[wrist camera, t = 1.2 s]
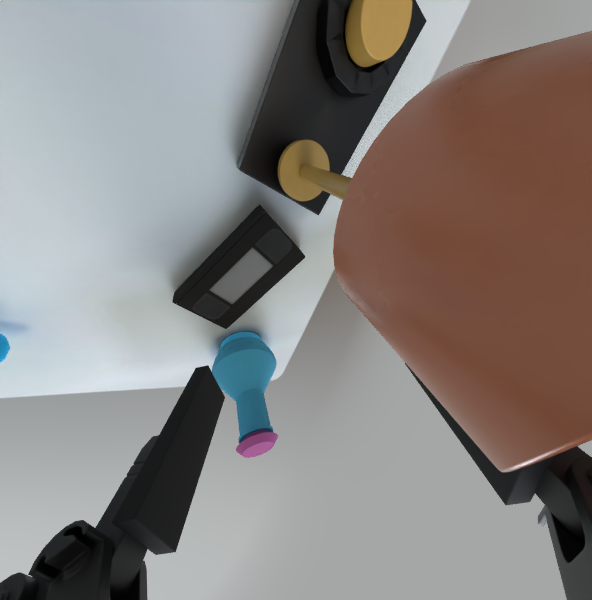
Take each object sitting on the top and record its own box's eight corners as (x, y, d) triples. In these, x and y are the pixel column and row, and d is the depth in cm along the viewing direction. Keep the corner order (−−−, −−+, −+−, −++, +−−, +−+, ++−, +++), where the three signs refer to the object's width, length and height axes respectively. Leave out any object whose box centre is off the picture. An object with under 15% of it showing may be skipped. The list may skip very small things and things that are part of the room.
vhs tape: (300, 249, 27) (305, 256, 26) (225, 319, 30) (226, 329, 28) (259, 204, 22) (263, 209, 21) (174, 292, 25) (172, 302, 24)
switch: (367, -37, 13) (389, -60, 11) (400, 18, 15) (423, 5, 13) (334, 39, 14) (350, 28, 13) (368, 80, 16) (385, 75, 15)
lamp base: (328, -99, 13) (364, -166, 10) (406, 31, 18) (446, 10, 15) (236, 166, 20) (241, 172, 17) (311, 210, 24) (325, 220, 22)
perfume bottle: (211, 368, 35) (214, 478, 24) (210, 327, 30) (212, 443, 19) (266, 360, 38) (290, 454, 27) (273, 323, 33) (306, 418, 22)
